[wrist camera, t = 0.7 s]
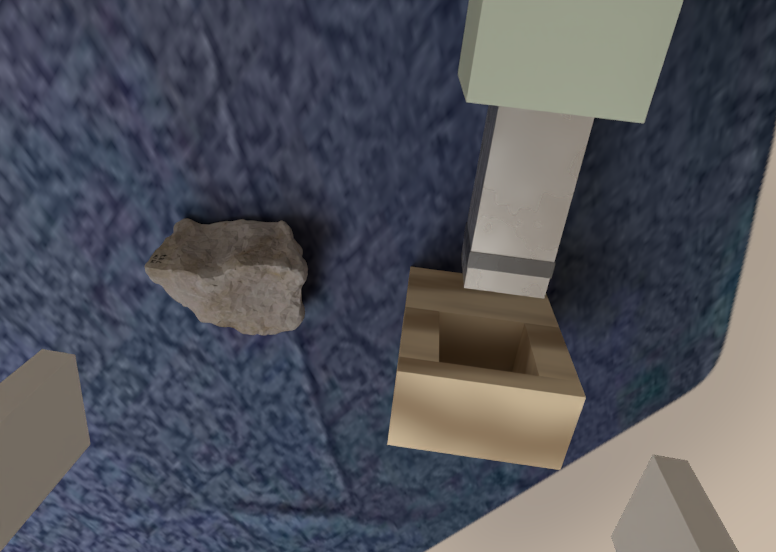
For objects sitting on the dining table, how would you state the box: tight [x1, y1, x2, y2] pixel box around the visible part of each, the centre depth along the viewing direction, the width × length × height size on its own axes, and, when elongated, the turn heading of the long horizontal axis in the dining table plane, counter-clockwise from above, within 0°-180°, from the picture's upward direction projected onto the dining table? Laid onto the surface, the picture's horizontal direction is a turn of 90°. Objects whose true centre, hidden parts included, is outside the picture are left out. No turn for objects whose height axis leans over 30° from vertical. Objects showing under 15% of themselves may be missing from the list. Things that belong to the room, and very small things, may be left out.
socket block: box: [387, 267, 586, 470], centre depth 31 cm, size 5×9×12 cm, turn 84°
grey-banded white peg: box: [461, 105, 594, 299], centre depth 22 cm, size 18×4×4 cm, turn 174°
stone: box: [145, 218, 308, 335], centre depth 34 cm, size 8×10×6 cm
